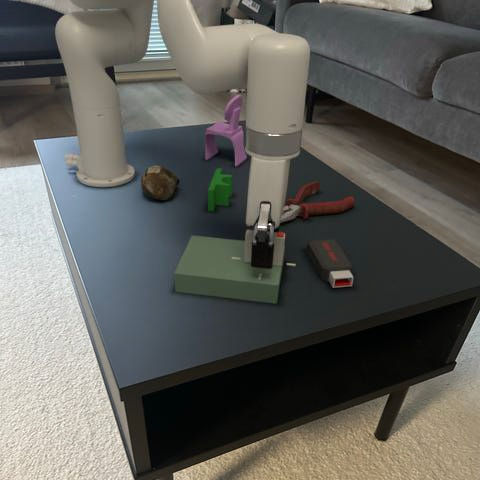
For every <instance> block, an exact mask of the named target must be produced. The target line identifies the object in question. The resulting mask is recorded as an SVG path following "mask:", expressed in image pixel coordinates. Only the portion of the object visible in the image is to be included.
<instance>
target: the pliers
mask: <svg viewBox="0 0 480 480" xmlns="http://www.w3.org/2000/svg"><path fill="white" fill-rule="evenodd" d="M320 186H321V185H320V182H319V181H312V182H310V183H307V184H305V185H302V186H301V187H300V188H299V190H298V192H297V193H296V195H295V197H294V198H288V199H287V200H285V204H284V208H283V212H282V216H281V220H280V224H281V223H285V222H288V221H292V220H294V219H295V218H296V217H298V218H302V219H303V220H308V219H309V216H323V215H334V214H335V215H336V214H340V213H344V212H346V211H348V210H350V209H352V208H353V207H354V206H355V202H356V200H355V198H354V196H351V195H349V196H347V197H345V198H343V199H341V200H340V199H339V200H335V201H324V202H323V201H322V202H308V203H307V202H304V200H305V199H306V198H307V197H309V196H312V195H315V194H316V193H318V192H319V190H320Z"/></svg>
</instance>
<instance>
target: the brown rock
mask: <svg viewBox="0 0 480 480" xmlns="http://www.w3.org/2000/svg"><path fill="white" fill-rule="evenodd" d="M180 181H181V180H180V178H179V177H178V176H177V175H176V174H175V173H174V172H173V171H171V170H170V169H169V168H167V167H164V166H161V165H153V166H150V167H148V168H147V169H146V170H145V172H144V174H142V176H141V177H140V186H141V189H142V192H144V194H145V195H146V196H148V197H149V198H151V199H153V200H158V201H166V200H169V199H170V198H171V197H172V196H173V195H174V193H175V191H176V189H177V187H178V186H179V184H180Z"/></svg>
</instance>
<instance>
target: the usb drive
mask: <svg viewBox="0 0 480 480" xmlns="http://www.w3.org/2000/svg"><path fill="white" fill-rule="evenodd" d="M305 252H306V255H307V256H308V258H309V260H310V262H311V264H312V265H313V267H314V269H315V272H316V273H317V275H318V276H319V278H320V279H321V280H322V281H324V282H325V283H329V284H330V286H331V288H332V289H333V288H334V289H335V288H346V287H353V284H354V279H355V277H354V276H353V273H352V270H353V264H352V263H351V261H350V260H349V258H348V256H347V255H346V254H345V252H344V251H343V249H342V248H341V245H340V244H339V243H338V241H337V240H335V239H333V238H330V239H329V238H327V239H313V240H309V241H308V242H307V243H306V248H305Z"/></svg>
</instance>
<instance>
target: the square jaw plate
mask: <svg viewBox="0 0 480 480" xmlns="http://www.w3.org/2000/svg"><path fill="white" fill-rule="evenodd" d="M267 234H269V235H270V232H267ZM244 235H245V236H244V241H245V254H244V262H249V263H251V251H252V241H253V237H254V229H246V231H245V234H244ZM273 244H274V255H273V265H275V266H282V262H283V253H284V254H285V252H284V245H285V244H286V232H285V231H279V232H278V233H276V232H274V236H273ZM283 263H284V262H283Z"/></svg>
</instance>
